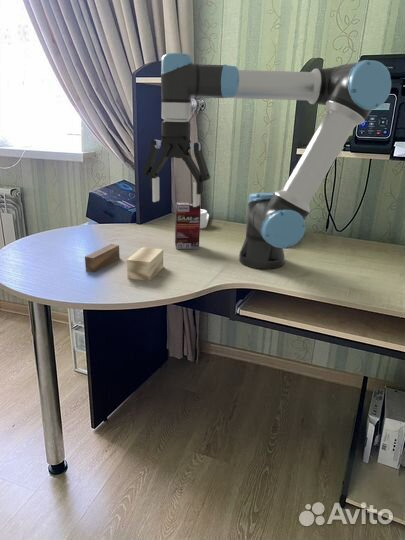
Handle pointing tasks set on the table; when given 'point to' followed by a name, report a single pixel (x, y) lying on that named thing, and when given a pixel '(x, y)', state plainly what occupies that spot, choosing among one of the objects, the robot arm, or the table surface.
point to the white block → (203, 218)
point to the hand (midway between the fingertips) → (175, 203)
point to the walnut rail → (102, 257)
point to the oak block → (145, 263)
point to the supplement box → (187, 226)
